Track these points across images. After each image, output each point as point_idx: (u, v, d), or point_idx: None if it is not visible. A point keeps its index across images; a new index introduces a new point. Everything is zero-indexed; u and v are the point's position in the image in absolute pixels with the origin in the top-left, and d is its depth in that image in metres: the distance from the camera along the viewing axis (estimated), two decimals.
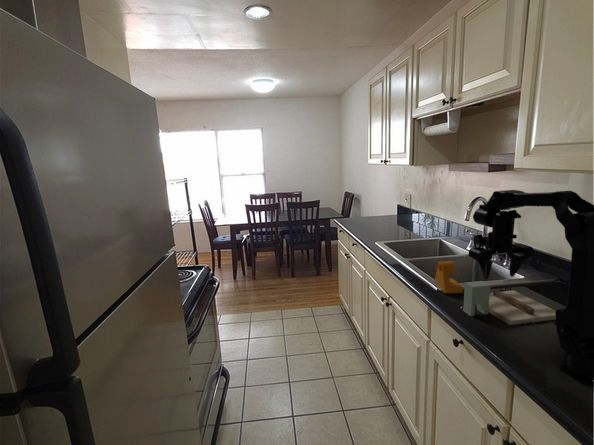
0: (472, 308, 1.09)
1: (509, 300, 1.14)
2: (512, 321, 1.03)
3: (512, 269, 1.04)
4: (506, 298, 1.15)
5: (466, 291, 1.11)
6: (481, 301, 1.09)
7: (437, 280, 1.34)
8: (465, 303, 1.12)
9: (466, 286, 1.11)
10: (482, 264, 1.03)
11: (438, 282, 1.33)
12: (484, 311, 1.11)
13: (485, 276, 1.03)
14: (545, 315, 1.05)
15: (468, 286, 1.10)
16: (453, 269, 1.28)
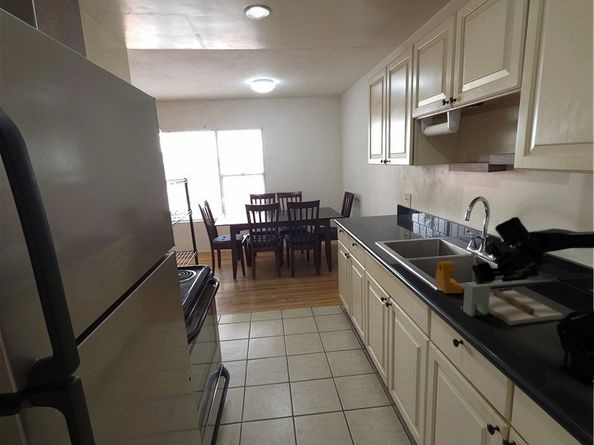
0: (472, 308, 1.09)
1: (509, 300, 1.14)
2: (512, 321, 1.03)
3: (506, 277, 1.03)
4: (506, 298, 1.15)
5: (466, 291, 1.11)
6: (481, 301, 1.09)
7: (437, 280, 1.34)
8: (465, 303, 1.12)
9: (466, 286, 1.11)
10: None
11: (438, 282, 1.33)
12: (484, 311, 1.11)
13: (477, 283, 1.03)
14: (545, 315, 1.05)
15: (468, 286, 1.10)
16: (453, 269, 1.28)
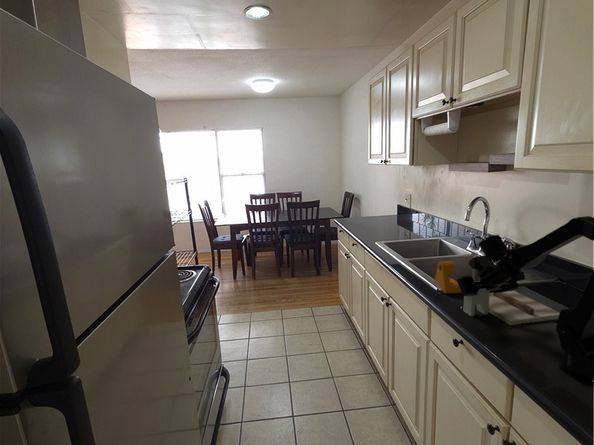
0: (472, 308, 1.09)
1: (509, 300, 1.14)
2: (512, 321, 1.03)
3: None
4: (506, 298, 1.15)
5: None
6: (481, 301, 1.09)
7: (437, 280, 1.34)
8: (465, 303, 1.12)
9: None
10: None
11: (438, 282, 1.33)
12: (484, 311, 1.11)
13: None
14: (545, 315, 1.05)
15: None
16: (453, 269, 1.28)
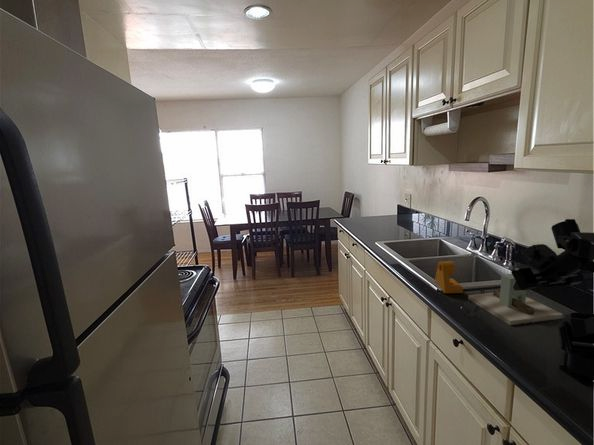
0: (509, 299, 1.11)
1: None
2: (512, 321, 1.03)
3: (546, 283, 0.97)
4: None
5: (502, 283, 1.13)
6: (518, 293, 1.11)
7: (437, 280, 1.34)
8: (502, 295, 1.14)
9: (503, 278, 1.13)
10: None
11: (438, 282, 1.33)
12: None
13: (515, 288, 0.97)
14: (545, 315, 1.05)
15: (505, 278, 1.12)
16: (453, 269, 1.28)
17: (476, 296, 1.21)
